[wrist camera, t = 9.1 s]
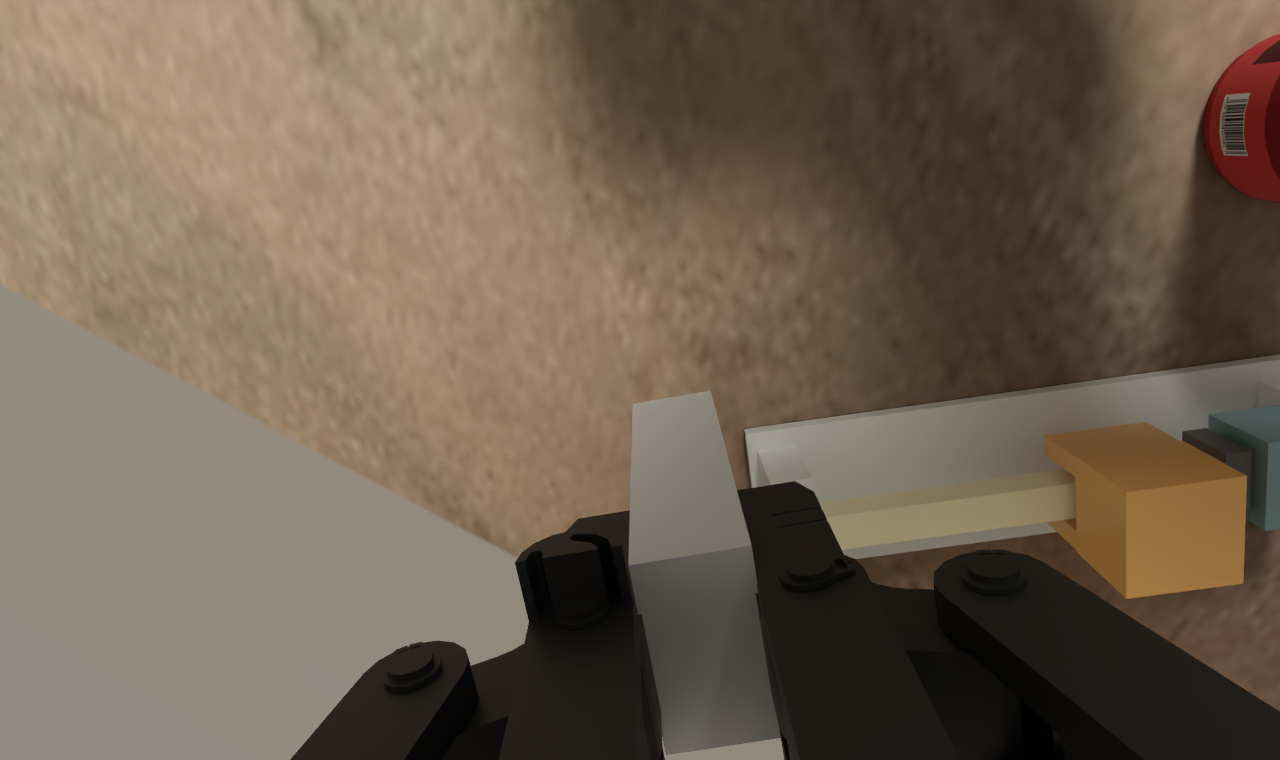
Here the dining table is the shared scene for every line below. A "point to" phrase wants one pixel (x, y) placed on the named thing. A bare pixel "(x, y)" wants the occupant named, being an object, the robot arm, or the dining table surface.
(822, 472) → the linear slide rail
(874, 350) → the dining table surface
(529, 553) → the robot arm
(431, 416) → the dining table surface
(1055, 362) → the dining table surface
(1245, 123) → the canned food
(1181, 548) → the orange slider block
